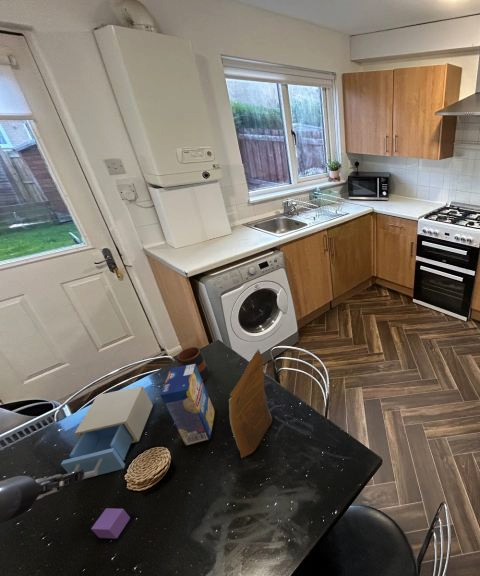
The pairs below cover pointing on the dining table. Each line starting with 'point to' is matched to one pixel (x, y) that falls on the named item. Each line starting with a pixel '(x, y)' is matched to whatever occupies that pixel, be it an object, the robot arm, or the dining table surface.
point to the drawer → (99, 451)
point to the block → (110, 523)
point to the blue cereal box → (188, 403)
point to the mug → (193, 360)
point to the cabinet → (118, 412)
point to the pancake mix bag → (249, 407)
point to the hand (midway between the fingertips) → (59, 479)
